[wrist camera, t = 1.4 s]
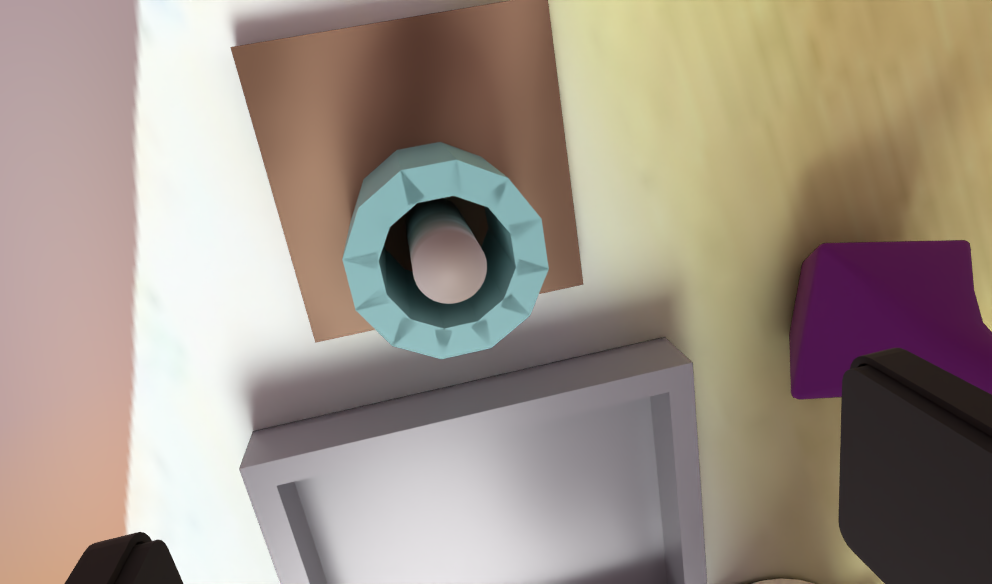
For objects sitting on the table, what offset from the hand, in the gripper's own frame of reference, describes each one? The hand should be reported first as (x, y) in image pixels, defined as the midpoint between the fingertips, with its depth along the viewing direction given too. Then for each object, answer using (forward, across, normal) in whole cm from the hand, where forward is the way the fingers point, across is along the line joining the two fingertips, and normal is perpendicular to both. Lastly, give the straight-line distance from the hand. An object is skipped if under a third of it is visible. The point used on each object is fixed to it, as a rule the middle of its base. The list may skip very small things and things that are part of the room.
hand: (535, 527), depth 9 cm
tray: (+20, 0, +16) cm, 26 cm away
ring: (+19, 0, 0) cm, 19 cm away
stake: (+20, 0, -2) cm, 20 cm away
